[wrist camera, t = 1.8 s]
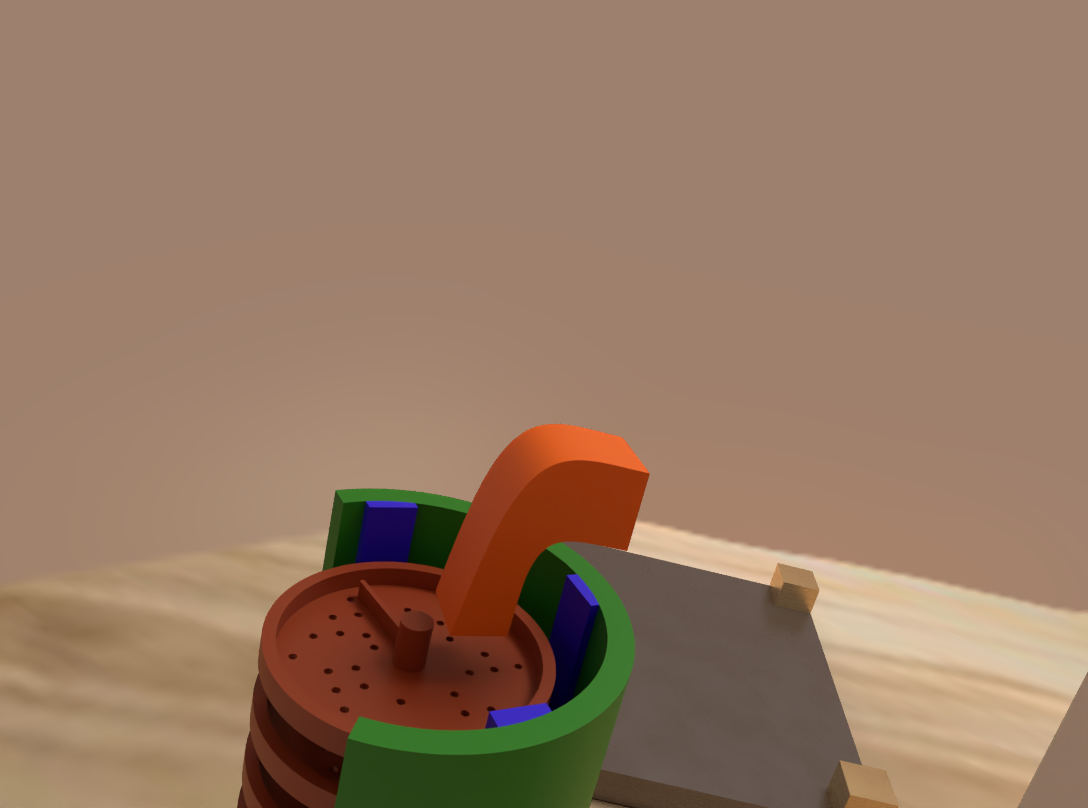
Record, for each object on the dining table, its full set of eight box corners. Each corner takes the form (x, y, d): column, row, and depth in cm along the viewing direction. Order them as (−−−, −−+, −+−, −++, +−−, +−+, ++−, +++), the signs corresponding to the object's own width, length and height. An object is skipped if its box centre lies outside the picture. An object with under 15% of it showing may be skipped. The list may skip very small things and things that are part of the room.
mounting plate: (441, 764, 41) (456, 704, 40) (487, 543, 58) (499, 497, 57) (872, 861, 42) (898, 805, 41) (795, 615, 59) (812, 571, 58)
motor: (164, 930, 32) (244, 332, 25) (430, 872, 36) (566, 351, 29) (226, 1295, 24) (373, 572, 17) (558, 1165, 28) (791, 547, 21)
